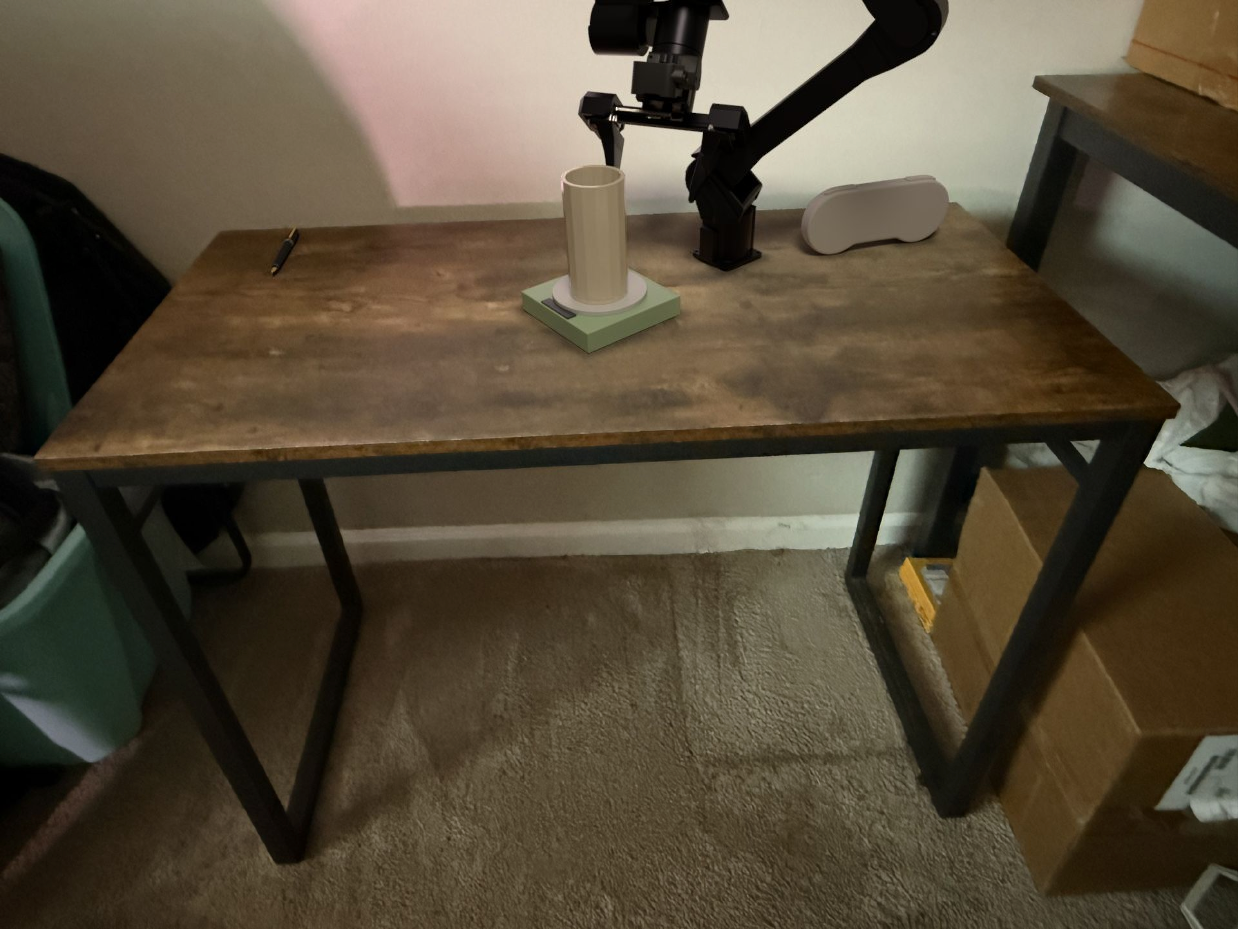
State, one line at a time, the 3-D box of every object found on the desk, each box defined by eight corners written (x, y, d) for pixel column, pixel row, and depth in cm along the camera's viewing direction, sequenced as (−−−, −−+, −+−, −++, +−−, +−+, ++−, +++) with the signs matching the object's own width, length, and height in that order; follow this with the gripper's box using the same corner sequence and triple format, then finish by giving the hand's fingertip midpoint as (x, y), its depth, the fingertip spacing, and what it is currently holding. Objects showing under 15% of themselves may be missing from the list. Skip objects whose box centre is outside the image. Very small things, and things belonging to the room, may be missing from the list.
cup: (605, 272, 94) (599, 160, 86) (639, 292, 90) (637, 176, 82) (559, 290, 91) (548, 175, 83) (592, 311, 87) (585, 192, 79)
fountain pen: (277, 278, 103) (274, 267, 102) (268, 279, 103) (264, 268, 102) (302, 232, 114) (299, 222, 113) (293, 233, 114) (290, 223, 113)
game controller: (932, 231, 107) (946, 168, 102) (942, 238, 105) (956, 174, 100) (796, 252, 104) (803, 188, 98) (804, 259, 102) (811, 194, 97)
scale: (611, 276, 100) (610, 253, 98) (680, 314, 92) (680, 290, 90) (523, 309, 94) (520, 286, 92) (588, 353, 86) (587, 329, 84)
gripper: (576, 13, 84) (550, 165, 85) (754, 26, 79) (723, 186, 81) (604, 60, 95) (580, 195, 96) (762, 74, 90) (735, 214, 92)
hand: (650, 197), depth 91 cm, fingers open, 9 cm apart
